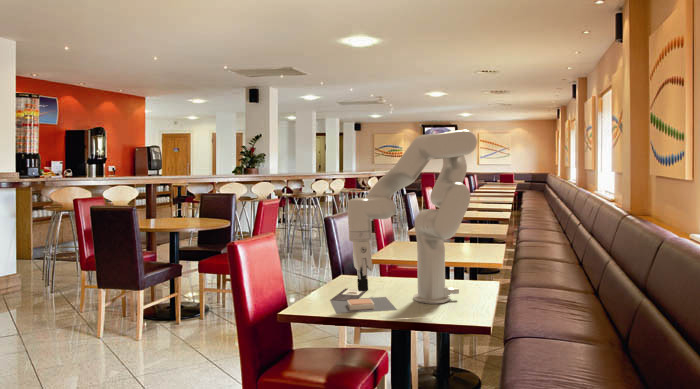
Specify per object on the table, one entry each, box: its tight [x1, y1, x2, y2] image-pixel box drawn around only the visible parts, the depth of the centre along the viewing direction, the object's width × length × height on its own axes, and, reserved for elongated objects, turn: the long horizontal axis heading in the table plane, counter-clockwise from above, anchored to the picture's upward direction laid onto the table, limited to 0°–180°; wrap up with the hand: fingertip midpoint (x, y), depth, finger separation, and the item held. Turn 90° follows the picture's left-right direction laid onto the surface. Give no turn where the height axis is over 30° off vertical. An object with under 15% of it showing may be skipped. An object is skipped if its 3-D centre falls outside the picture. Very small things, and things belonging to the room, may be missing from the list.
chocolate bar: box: [330, 288, 368, 301], centre depth 204 cm, size 9×1×18 cm
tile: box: [347, 299, 374, 310], centre depth 187 cm, size 8×2×7 cm
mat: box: [329, 296, 398, 315], centre depth 189 cm, size 20×18×1 cm
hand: (363, 290), depth 186 cm, fingers closed
